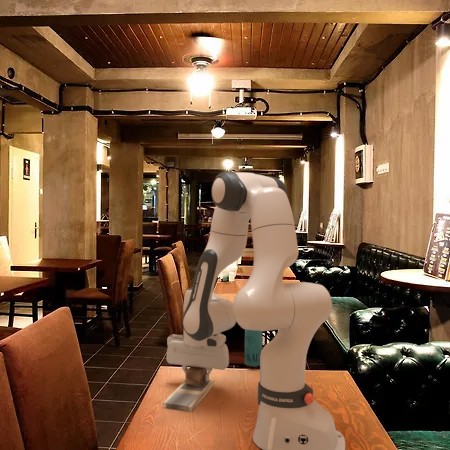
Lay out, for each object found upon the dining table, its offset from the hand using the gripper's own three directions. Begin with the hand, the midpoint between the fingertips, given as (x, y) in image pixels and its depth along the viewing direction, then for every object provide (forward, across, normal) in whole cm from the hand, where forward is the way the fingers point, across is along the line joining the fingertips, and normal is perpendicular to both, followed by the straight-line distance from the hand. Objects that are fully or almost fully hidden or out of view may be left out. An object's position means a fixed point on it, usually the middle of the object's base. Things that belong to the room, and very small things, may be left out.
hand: (197, 379), depth 142 cm
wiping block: (+1, 0, 0) cm, 1 cm away
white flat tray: (+3, 0, -6) cm, 7 cm away
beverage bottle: (+3, +13, +23) cm, 26 cm away
